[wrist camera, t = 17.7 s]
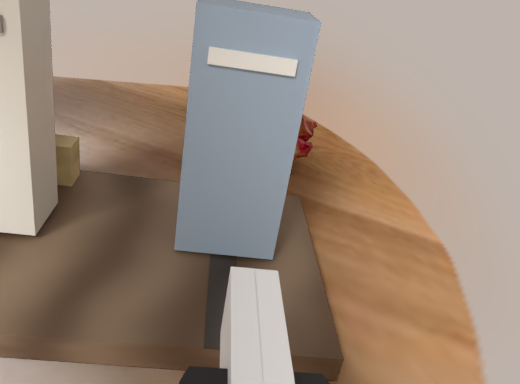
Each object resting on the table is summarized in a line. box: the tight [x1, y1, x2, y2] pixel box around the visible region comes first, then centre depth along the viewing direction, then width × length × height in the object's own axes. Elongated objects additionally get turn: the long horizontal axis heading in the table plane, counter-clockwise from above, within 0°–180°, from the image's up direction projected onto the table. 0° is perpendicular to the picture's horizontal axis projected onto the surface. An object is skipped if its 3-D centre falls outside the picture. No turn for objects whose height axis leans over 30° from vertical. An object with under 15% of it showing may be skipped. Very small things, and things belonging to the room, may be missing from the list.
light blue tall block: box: [174, 0, 321, 260], centre depth 27 cm, size 6×4×14 cm
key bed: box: [0, 134, 343, 381], centre depth 29 cm, size 26×17×4 cm, turn 93°
